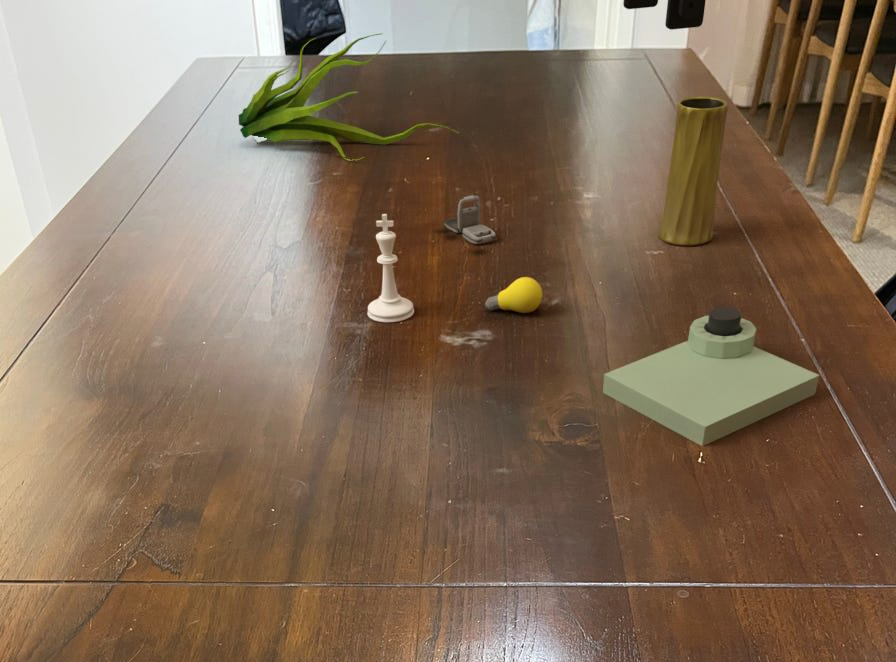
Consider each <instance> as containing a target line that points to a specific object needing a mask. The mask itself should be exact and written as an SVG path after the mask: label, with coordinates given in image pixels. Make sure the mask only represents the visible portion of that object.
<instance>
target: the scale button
mask: <svg viewBox="0 0 896 662" xmlns="http://www.w3.org/2000/svg"><path fill="white" fill-rule="evenodd" d="M708 316H709V319H708V326H707V332H708V333H711V334H713V335H718V336H734V335H737V334H738V333H739V327H740V322H741V318H742V316H743V315H742V312H741V311H740V310H739V309H736V308H733V307H731V306H730V307H729V306H719V307H713V308H712V309H711V310H710V311H709V314H708Z"/></svg>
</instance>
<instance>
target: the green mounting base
mask: <svg viewBox="0 0 896 662" xmlns="http://www.w3.org/2000/svg"><path fill="white" fill-rule="evenodd" d="M708 319H709V315H704V316H701V317H699V318H695V319H694V320H693V321H692V323H691V325H690V326H689V329H688V330H689V331H688V338H687V340H685V341H682V342H681V343H678V344H676V345H673V346H670V347H668V348H666V349H663V350H661V351H657V352H656V353H653V354H651V355H648V356H646V357H643V358H641V359H638V360H636V361H633V362H631V363H628V364H626V365H623V366H621V367H618V368H616V369H613V370H611V371H608V372H605V373H604V374H603V385H602V393H603V394H605V395H606V396H608V397H610V398H611V399H614V400H616V401H618V402H619V403H621V404H623V405H625V406H626V407H628V408H630V409H633V410H634V411H636V412H637V413H640V414H641V415H643V416H645V417H646V418H648V419H651V420H653V421H654V422H656V423H658V424H660V425H662V426H663V427H665V428H667V429H669V430H671V431H673V432H675V433H676V434H679V435H680V436H682V437H683V438H685V439H687V440H690V441H692V442H693V443H695V444H697V445H699V446H701V447H704V446H706V445H709V444H710V443H713V442H715V441H717V440H719V439H722V438H724V437H726V436H728V435H730V434H732V433H734V432H737V431H738V430H740V429H743V428H745V427H747V426H750V425H752V424H754V423H757V422H759V421H760V420H762V419H765V418H767V417H769V416H771V415H774V414H775V413H778V412H780V411H782V410H784V409H786V408H788V407H791V406H793V405H795V404H797V403H799V402H801V401H804V400H806V399H808V398H811V397H812V396H815V395H816V392H817V387H818V384H819V379H820V374H818V373H815V372H814V371H811V370H809V369H808V368H807V369H806V368H804V367H803V366H800V365H797V364H795V363H793V362H791V361H789V360H786V359H784V358H782V357H780V356H777V355H774V354H772V353H771V352H768V351H765V350H763V349H761V348H759V347H756V346H755V341H756V336H757V331H758V330H757V327H756V326H755V324H753V322H752V321H750V320H747V319H745V318H742V317H741V322H740V327H739V333H738V334H737V335H734V336H718V335H713V334H711V333H708V332H707V326H708Z"/></svg>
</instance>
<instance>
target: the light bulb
mask: <svg viewBox="0 0 896 662" xmlns="http://www.w3.org/2000/svg"><path fill="white" fill-rule="evenodd" d="M542 299H543V289H542V286H541V285H540V283H539V282H538V281H537V280H535V279H534V278H533V277H529V276H521V277H519V278H517V279H514V281H513V282H512V283H510V284H509V285H508V286H507V287H506V288H505V289H503V290H501V291H499V292H498V294H496V295H492V296H488V298H487V299H486V301H485V303H484V305H485V308H486V309H488V310H489V311H491V312H493V311H496V310H503V311H512V312H516V313H520V314H530V313H532V312H534V311H536V309H538V308H539V306H540V305H541V303H542Z"/></svg>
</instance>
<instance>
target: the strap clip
mask: <svg viewBox="0 0 896 662" xmlns="http://www.w3.org/2000/svg"><path fill="white" fill-rule="evenodd" d="M473 201H476V205H473V206H468V207H464V208H463V204H464V203H469V202H473ZM457 204H458V205H457V210H456V211H457V212H456V213H457V215H456V216H457V217H455V218H451V219H447V220H444V221H443V225H444V226H445V227H446V229H448V230H450V231H452V232H454V233H455V234H462V238H463V239H465V240H466V241H468V242H469V243H471V244H473V245H480V244H485V243H490V242H493V241H495V240H496V238H497V235H496V232H495V231H494V229H491V228H490V227H488V226H486V225H483V224H480V219H481V211H482V203H481V198H480V197H479V195H474V194H472V195H468V196H463V197H462V198H460V199H459V201H458V203H457Z"/></svg>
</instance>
